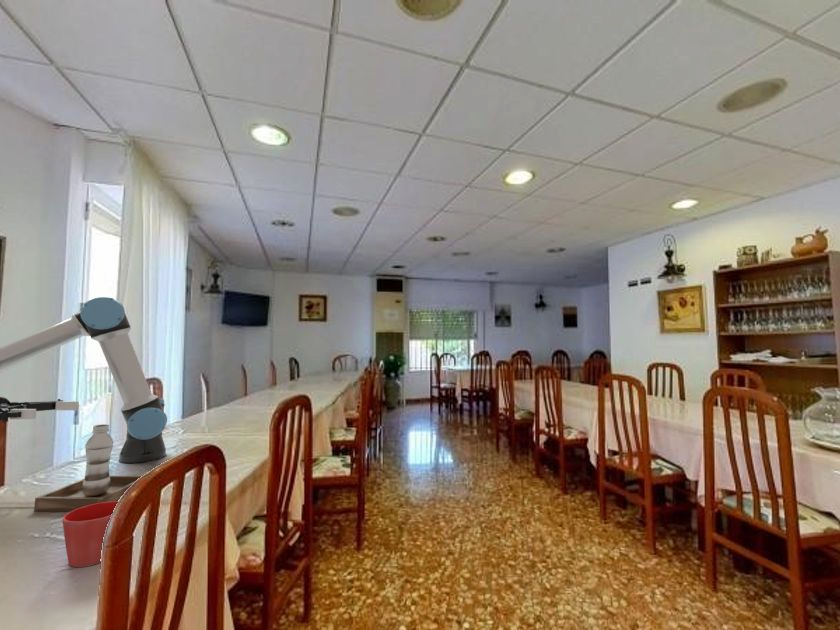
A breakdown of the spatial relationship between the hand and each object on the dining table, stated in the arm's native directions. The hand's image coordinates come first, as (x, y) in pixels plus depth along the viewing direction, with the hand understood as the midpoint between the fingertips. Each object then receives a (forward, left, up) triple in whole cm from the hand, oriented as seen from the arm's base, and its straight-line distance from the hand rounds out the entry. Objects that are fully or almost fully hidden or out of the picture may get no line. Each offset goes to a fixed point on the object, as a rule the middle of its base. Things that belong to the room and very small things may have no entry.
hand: (57, 409), depth 114 cm
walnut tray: (+1, +14, -25) cm, 29 cm away
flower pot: (+31, +39, -26) cm, 56 cm away
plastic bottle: (+1, +14, -25) cm, 28 cm away
